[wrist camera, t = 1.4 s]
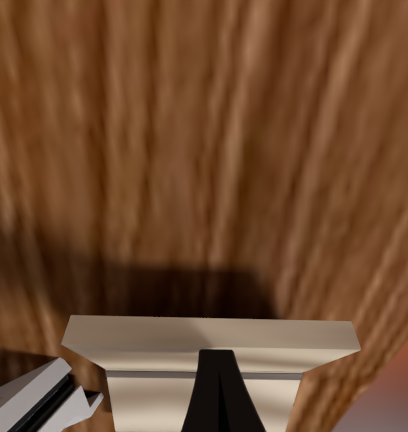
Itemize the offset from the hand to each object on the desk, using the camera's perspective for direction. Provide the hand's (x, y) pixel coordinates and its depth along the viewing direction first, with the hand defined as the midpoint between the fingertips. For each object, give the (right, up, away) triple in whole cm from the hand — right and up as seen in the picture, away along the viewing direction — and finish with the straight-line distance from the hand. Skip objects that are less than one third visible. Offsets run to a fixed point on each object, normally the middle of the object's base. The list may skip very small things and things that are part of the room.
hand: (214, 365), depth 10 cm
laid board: (-1, -7, +9) cm, 11 cm away
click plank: (0, -1, +4) cm, 4 cm away
